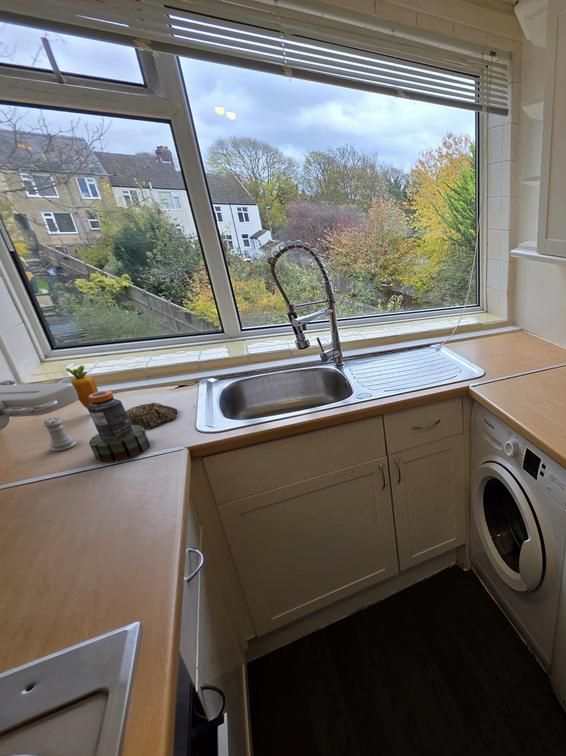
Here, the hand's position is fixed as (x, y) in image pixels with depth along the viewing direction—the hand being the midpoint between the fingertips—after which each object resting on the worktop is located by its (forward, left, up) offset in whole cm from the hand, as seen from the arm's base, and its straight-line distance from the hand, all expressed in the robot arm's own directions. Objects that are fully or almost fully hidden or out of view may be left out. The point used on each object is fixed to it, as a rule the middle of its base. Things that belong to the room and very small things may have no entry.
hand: (39, 382), depth 82 cm
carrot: (-2, +42, -24) cm, 48 cm away
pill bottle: (+6, +11, -19) cm, 23 cm away
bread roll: (+11, +28, -24) cm, 38 cm away
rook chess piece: (-6, +22, -24) cm, 33 cm away
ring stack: (+6, +11, -24) cm, 27 cm away
